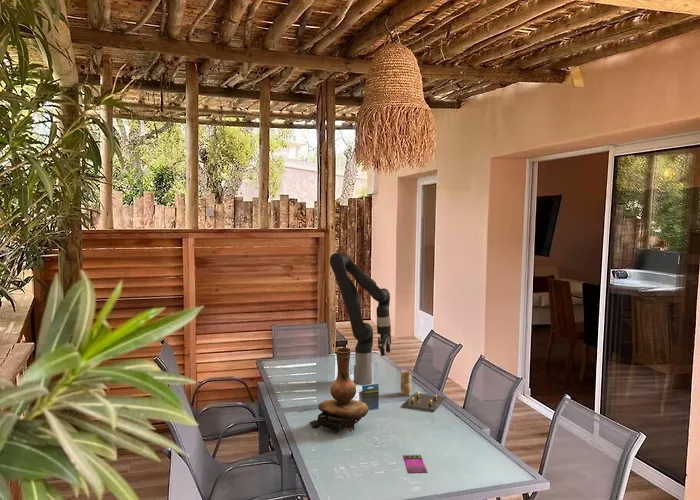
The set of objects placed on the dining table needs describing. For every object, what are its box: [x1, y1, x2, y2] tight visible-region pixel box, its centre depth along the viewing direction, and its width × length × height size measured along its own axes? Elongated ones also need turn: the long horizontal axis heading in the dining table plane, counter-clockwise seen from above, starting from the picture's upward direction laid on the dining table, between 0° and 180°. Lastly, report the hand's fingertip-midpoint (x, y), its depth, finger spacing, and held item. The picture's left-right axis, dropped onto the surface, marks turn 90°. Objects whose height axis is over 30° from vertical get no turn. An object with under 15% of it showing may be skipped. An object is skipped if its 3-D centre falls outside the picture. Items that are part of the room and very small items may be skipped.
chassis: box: [401, 391, 446, 413], centre depth 271 cm, size 16×20×4 cm
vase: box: [309, 347, 369, 434], centre depth 240 cm, size 24×22×35 cm
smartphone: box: [402, 454, 428, 474], centre depth 203 cm, size 7×15×1 cm, turn 2°
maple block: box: [400, 369, 413, 396], centre depth 287 cm, size 4×4×12 cm
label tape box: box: [358, 383, 380, 411], centre depth 264 cm, size 9×4×12 cm, turn 112°
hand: (385, 354), depth 303 cm, fingers open, 8 cm apart
